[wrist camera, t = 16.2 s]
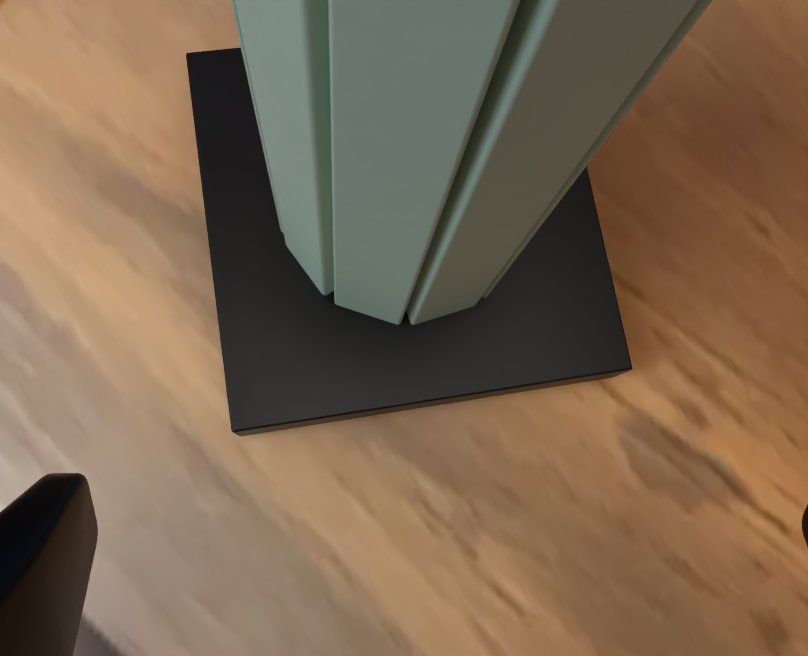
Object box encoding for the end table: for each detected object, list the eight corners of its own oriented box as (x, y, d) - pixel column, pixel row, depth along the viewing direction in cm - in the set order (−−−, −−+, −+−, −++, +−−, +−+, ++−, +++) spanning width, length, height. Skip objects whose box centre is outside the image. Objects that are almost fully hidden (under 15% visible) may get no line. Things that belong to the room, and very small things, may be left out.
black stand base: (238, 436, 18) (186, 407, 11) (194, 79, 19) (128, -111, 13) (614, 376, 19) (748, 321, 12) (540, 42, 20) (627, -149, 14)
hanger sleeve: (489, 355, 17) (915, -32, 4) (243, 275, 17) (-32, -353, 4) (553, 136, 18) (1027, -650, 6) (324, 60, 18) (293, -909, 6)
